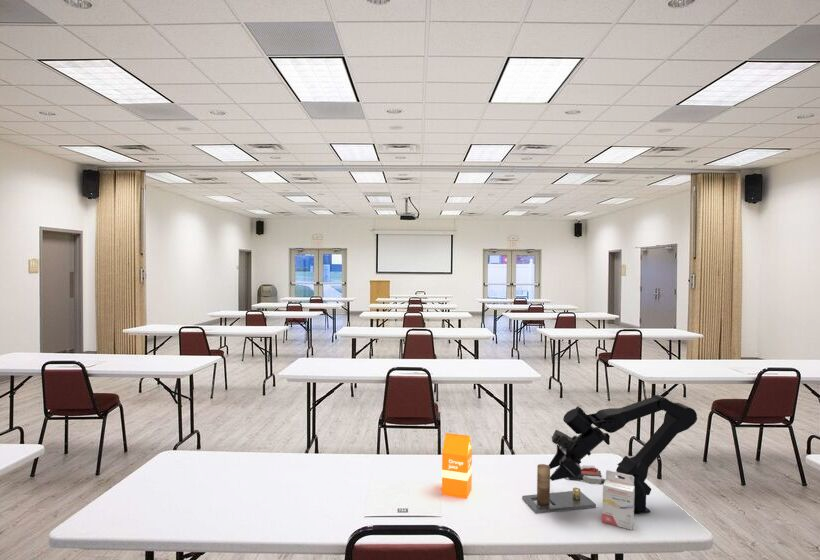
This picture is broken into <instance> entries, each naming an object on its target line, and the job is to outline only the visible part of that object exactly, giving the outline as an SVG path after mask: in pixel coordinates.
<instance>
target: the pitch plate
mask: <svg viewBox="0 0 820 560" xmlns="http://www.w3.org/2000/svg"><path fill="white" fill-rule="evenodd" d="M521 499H522V500H523V501H524V503H525V504H526V505H527V506H528V507H529V508H530V509H531V510H532V511H533V512H534V513H535V514H543V513H553V512H555V513H556V512H564V511H574V510H582V509H583V510H584V509H591V508H592V509H593V508H597V504H596V503H595V502H594V501H592V499H590V498H589V497H588V496H587V495H586V494H584V493H583V492H582V491H581V489H580V488H579V487H572V490H569V491H560V492H558V491H557V492H550V504H551V505H550V506H541V507H540V506H538V505H537V502H535V501H537V493H536V494H528V495H522V496H521Z"/></svg>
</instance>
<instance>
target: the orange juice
mask: <svg viewBox="0 0 820 560" xmlns="http://www.w3.org/2000/svg"><path fill="white" fill-rule="evenodd" d="M441 453H442V454H441V460H442V461H441V495H442V496H447V497H449V496H450V497H453V498H454V497H455V498H461V499H468V497H469V495H470V493H471V491H472V484H473V483H472V477H473V475H472V473H473V472H472V471H473V465H472V464H473V461H472V460H473V446H472V442H471V436H470V435H468V434H467V435H466V434H458V433H448V432H445V435H444V440H443V448H442V451H441Z"/></svg>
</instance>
